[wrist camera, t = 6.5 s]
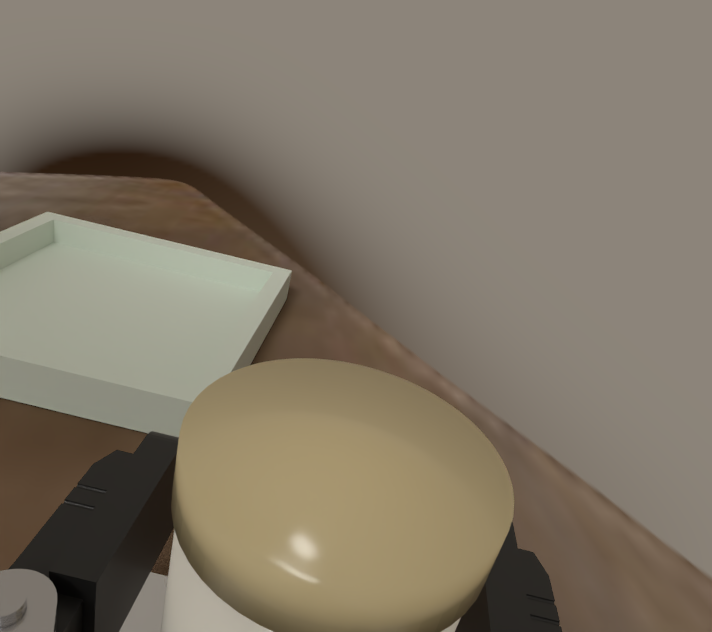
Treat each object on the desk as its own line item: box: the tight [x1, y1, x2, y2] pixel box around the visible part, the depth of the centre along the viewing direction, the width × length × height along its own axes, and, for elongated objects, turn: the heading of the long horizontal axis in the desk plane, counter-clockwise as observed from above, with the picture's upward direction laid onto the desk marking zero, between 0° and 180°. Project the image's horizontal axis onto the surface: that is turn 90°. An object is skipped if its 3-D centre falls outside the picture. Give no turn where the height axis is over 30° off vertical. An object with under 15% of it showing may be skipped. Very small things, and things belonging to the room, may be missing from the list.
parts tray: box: [0, 212, 292, 437], centre depth 31 cm, size 16×16×2 cm
